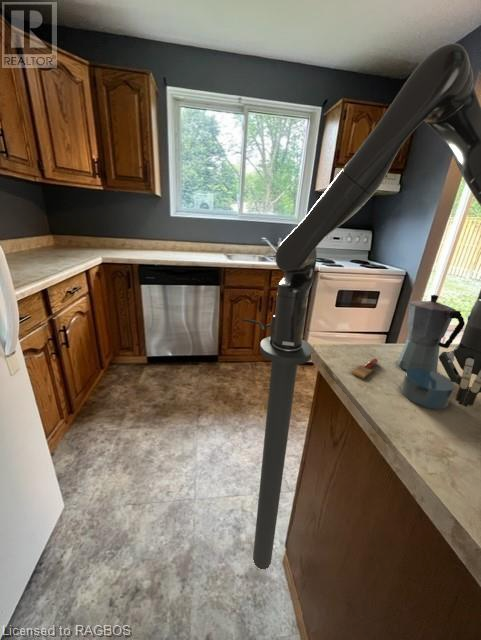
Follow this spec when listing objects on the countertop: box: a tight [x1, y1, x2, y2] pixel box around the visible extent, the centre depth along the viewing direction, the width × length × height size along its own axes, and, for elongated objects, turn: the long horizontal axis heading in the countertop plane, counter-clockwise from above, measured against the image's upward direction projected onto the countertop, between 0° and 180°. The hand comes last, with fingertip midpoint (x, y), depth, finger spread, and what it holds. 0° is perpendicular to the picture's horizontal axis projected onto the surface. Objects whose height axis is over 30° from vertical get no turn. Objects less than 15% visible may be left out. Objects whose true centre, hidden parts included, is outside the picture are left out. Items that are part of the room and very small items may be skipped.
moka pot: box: [397, 294, 466, 372], centre depth 69 cm, size 10×15×20 cm, turn 15°
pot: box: [400, 368, 455, 410], centre depth 60 cm, size 9×12×4 cm
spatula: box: [351, 357, 378, 379], centre depth 71 cm, size 11×3×1 cm, turn 133°
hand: (462, 403), depth 56 cm, fingers closed
